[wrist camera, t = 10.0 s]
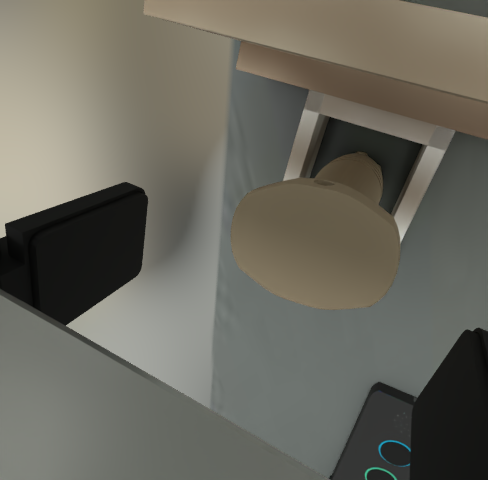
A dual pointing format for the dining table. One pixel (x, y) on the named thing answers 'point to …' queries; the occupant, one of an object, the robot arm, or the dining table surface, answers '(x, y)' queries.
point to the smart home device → (379, 438)
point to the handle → (320, 236)
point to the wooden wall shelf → (360, 70)
